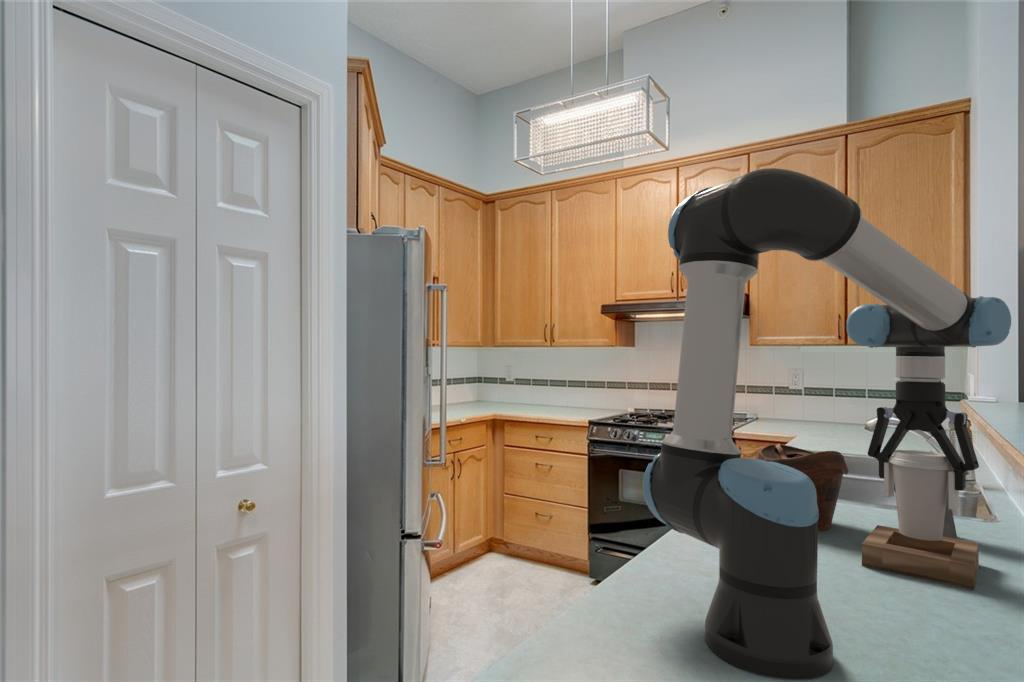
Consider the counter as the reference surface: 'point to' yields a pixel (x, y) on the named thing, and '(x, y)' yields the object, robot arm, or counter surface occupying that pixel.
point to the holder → (922, 557)
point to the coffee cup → (921, 492)
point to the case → (813, 474)
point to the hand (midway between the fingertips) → (920, 502)
